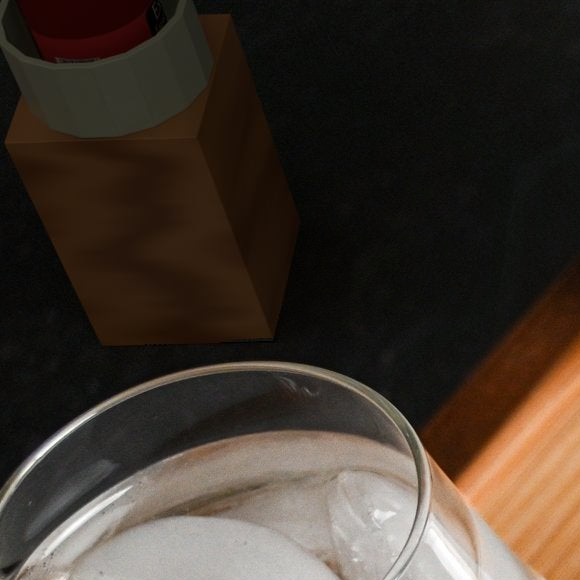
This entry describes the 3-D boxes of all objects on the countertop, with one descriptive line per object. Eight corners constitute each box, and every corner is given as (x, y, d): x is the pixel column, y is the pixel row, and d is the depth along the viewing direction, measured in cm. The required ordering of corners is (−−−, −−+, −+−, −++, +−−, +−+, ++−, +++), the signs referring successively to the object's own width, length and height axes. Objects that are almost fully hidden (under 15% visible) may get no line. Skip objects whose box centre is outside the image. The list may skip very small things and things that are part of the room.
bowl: (7, 140, 118) (-26, 71, 114) (49, 21, 124) (19, -50, 120) (194, 135, 117) (167, 64, 113) (226, 15, 124) (202, -56, 119)
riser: (101, 346, 132) (3, 143, 118) (136, 226, 139) (47, 19, 124) (274, 342, 132) (196, 137, 117) (301, 221, 138) (230, 13, 124)
